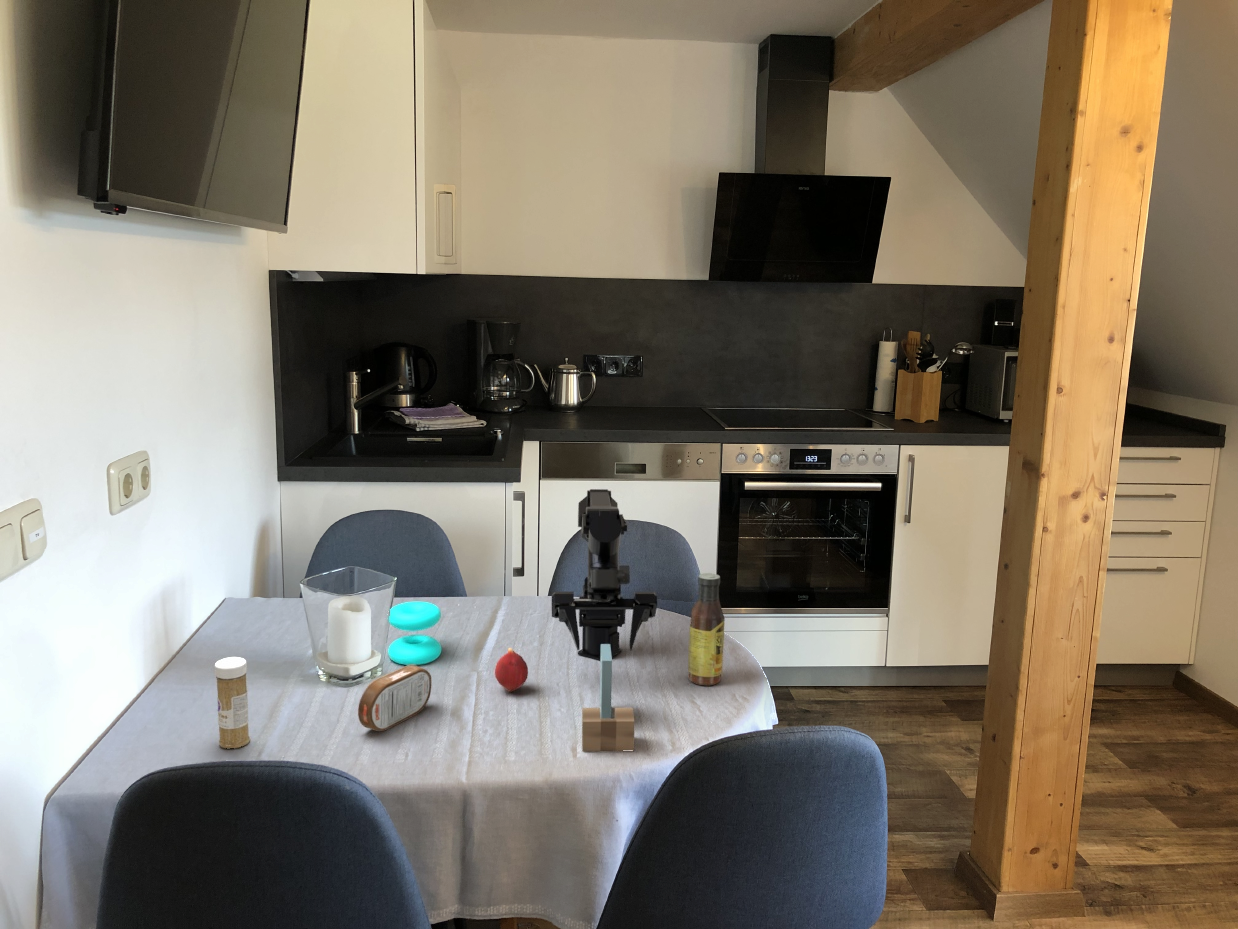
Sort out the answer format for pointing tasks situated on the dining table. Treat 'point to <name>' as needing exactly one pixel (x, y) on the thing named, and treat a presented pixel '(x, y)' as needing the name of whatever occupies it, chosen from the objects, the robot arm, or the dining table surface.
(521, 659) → the onion
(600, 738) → the clip block
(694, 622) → the sauce bottle
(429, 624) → the donuts
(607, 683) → the pale blue slab box
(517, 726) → the dining table surface
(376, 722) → the tin
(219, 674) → the sprinkles bottle
